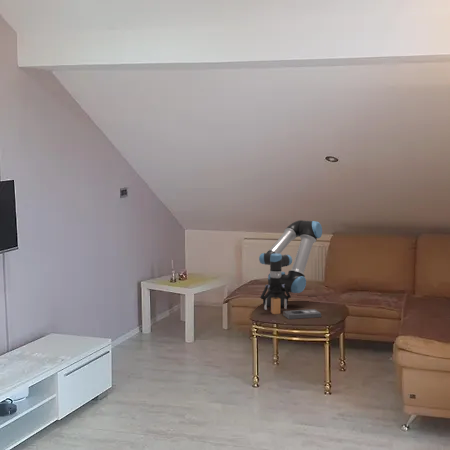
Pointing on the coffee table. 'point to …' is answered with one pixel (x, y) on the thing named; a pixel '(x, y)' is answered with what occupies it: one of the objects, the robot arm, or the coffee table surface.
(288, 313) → the power strip
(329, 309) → the coffee table surface
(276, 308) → the charger
